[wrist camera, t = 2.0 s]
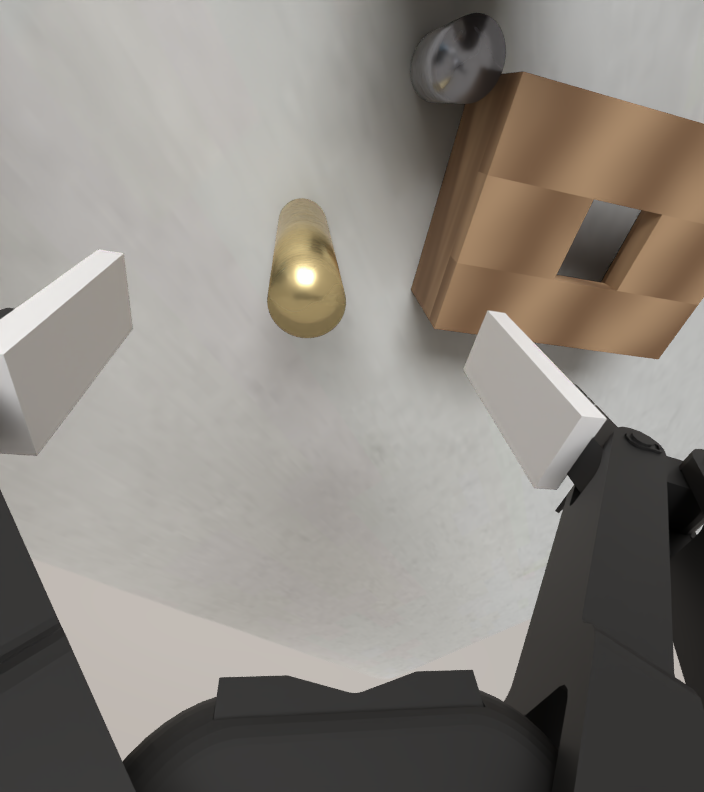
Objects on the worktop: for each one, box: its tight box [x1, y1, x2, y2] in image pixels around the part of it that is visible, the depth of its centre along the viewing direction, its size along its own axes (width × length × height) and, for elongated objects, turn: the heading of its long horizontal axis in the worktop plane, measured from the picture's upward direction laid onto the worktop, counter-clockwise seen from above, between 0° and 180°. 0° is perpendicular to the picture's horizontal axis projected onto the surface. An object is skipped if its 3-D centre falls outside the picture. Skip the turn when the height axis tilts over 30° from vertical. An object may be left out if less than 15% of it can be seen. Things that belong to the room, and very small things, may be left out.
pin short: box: [410, 13, 506, 104], centre depth 19 cm, size 3×3×5 cm
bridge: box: [411, 72, 704, 359], centre depth 24 cm, size 16×12×6 cm
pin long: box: [267, 198, 346, 338], centre depth 20 cm, size 3×3×12 cm
